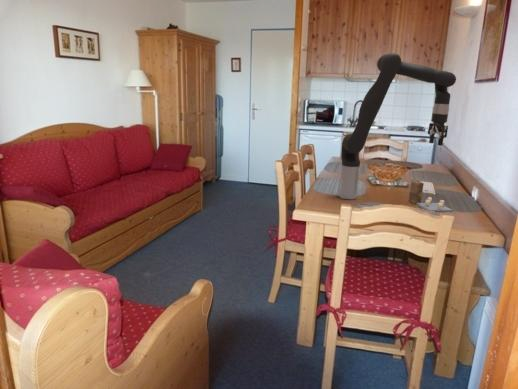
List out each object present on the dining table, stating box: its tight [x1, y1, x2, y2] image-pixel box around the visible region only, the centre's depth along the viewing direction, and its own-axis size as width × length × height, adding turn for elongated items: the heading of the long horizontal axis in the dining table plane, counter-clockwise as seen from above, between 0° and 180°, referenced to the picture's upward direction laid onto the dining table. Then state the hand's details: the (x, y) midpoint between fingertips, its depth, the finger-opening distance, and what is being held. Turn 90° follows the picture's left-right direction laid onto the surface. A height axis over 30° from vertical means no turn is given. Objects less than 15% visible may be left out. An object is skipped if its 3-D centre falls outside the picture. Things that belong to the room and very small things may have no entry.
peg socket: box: [416, 196, 453, 213], centre depth 199 cm, size 12×12×4 cm
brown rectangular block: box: [408, 180, 424, 205], centre depth 207 cm, size 4×6×11 cm, turn 6°
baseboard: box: [419, 180, 439, 196], centre depth 241 cm, size 31×3×12 cm
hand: (435, 144), depth 211 cm, fingers open, 8 cm apart
